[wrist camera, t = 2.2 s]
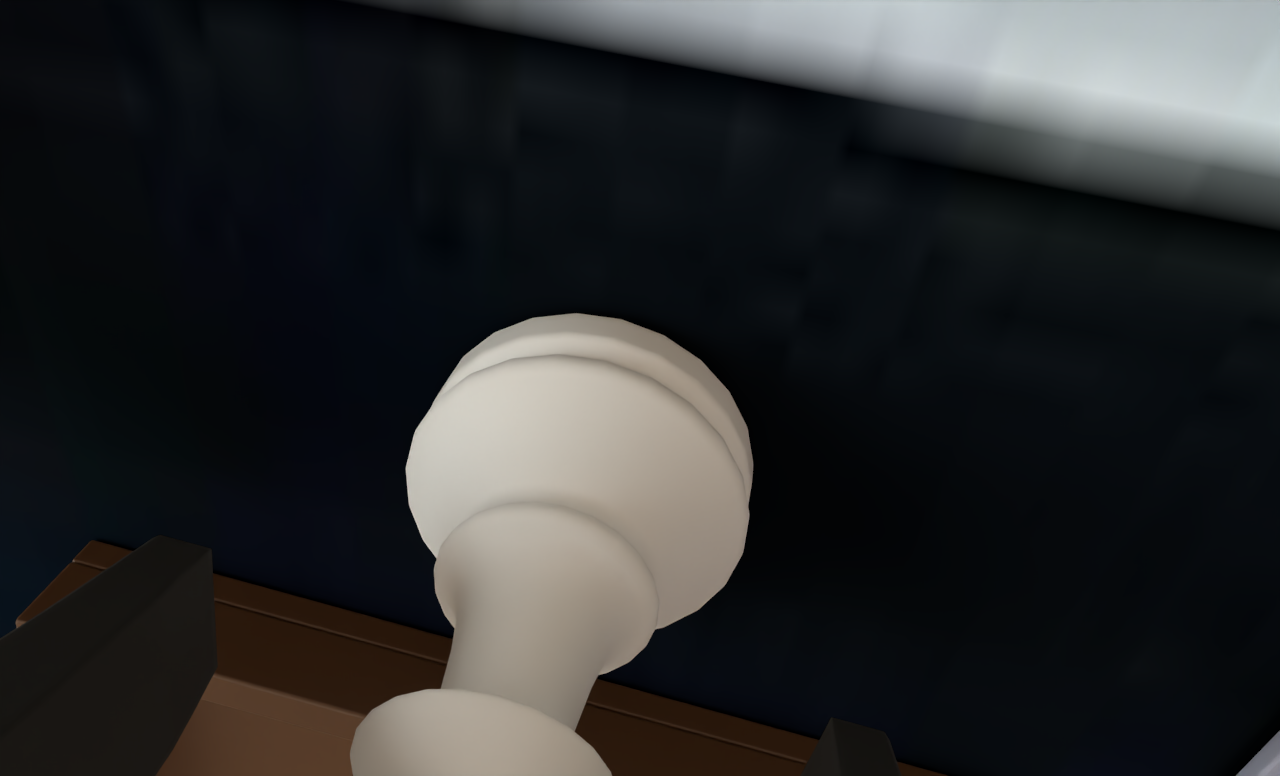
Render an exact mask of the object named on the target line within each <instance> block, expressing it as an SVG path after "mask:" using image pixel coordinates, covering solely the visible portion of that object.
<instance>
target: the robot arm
mask: <svg viewBox="0 0 1280 776" xmlns="http://www.w3.org/2000/svg"><path fill="white" fill-rule="evenodd" d="M217 667H218V662H217V643H216V624H215V604H214V585H213V566H212V549H210V548H207V547H203V546H199V545H196V544H192V543H188V542H185V541H181V540H177V539H173V538H170V537H166V536H162V535H158V536H156V537H155V538H153V539H151V540H149V541H148V542H146V543H145V544H143V545H142V546H140V547H139V548H137V549H136V550H134V551H133V552H131V553H129V554H128V555H126V556H125V557H123V558H122V559H121V560H119V561H118V562H116V563H115V564H113V565H112V566H110V567H109V568H107V569H106V570H104V571H103V572H101V573H100V574H98V575H97V576H95V577H94V578H92V579H91V580H89V581H88V582H86V583H85V584H83V585H82V586H80V587H79V588H77V589H76V590H74V591H73V592H71V593H70V594H68V595H67V596H65V597H64V598H62V599H61V600H59V601H58V602H56V603H55V604H53V605H51V606H50V607H48V608H47V609H45V610H44V611H42V612H41V613H39V614H38V615H36V616H35V617H33V618H32V619H30V620H29V621H27V622H26V623H24V624H22V625H21V626H19V627H18V628H16V629H14V630H13V631H11V632H10V633H8V634H7V635H5V636H3V637H2V638H0V776H156V774H157V773H158V771H159V770H160V768H161V767H162V765H163V764H164V762H165V761H166V759H167V758H168V757H169V755H170V754H171V752H172V751H173V749H174V747H175V745H176V743H177V742H178V740H179V738H180V736H181V734H182V733H183V731H184V729H185V727H186V725H187V724H188V722H189V720H190V718H191V716H192V715H193V713H194V711H195V709H196V707H197V705H198V703H199V701H200V699H201V697H202V696H203V694H204V692H205V690H206V688H207V686H208V684H209V682H210V680H211V678H212V676H213V675H214V673H215V671H216V669H217ZM800 776H902V775H901V772H900V769H899V766H898V763H897V761H896V758H895V755H894V752H893V749H892V746H891V743H890V740H889V739H888V737H887V735H886V734H885V732H884V731H880V730H877V729H873V728H869V727H865V726H862V725H858V724H854V723H851V722H847V721H843V720H840V719H836V718H832V717H831V719H830V721H829V723H828V725H827V727H826V728H825V730H824V732H823V734H822V736H821V738H820V740H819V742H818V744H817V745H816V747H815V749H814V751H813V753H812V755H811V757H810V759H809V760H808V762H807V764H806V766H805V768H804V770H803V772H802V774H801V775H800ZM1236 776H1280V731H1279V732H1278V733H1277V734H1276V735H1275V736H1274V737H1273V738H1272V739H1271V740H1270V741H1269V742H1268V743H1267V744H1266V745H1265V746H1264V747H1263V748H1262V749H1261V750H1260V751H1259V752H1258V753H1257V754H1256V755H1255V756H1254V757H1253V758H1252V759H1251V760H1250V762H1249V763H1248V764H1247V765H1246V766H1245V767H1244V768H1243V769H1242V770H1241V771H1240V772H1239V773H1238V774H1237V775H1236Z"/></svg>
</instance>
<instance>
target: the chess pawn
mask: <svg viewBox="0 0 1280 776" xmlns="http://www.w3.org/2000/svg"><path fill="white" fill-rule="evenodd" d="M752 477H753V458H752V452H751V446H750V440H749V434H748V428H747V426H746V424H745V422H744V420H743V418H742V416H741V414H740V412H739V410H738V408H737V406H736V404H735V402H734V400H733V398H732V396H731V394H730V392H729V391H728V389H727V388H726V387H725V386H724V385H723V384H722V383H721V382H720V381H719V380H718V378H717V377H716V376H715V375H714V374H713V373H712V372H711V371H710V370H709V368H708V367H707V366H706V365H705V364H704V363H703V362H702V361H701V360H700V359H699V358H697V357H696V356H694V355H693V354H691V353H690V352H688V351H687V350H685V349H684V348H682V347H681V346H679V345H678V344H676V343H675V342H673V341H672V340H670V339H669V338H667V337H666V336H664V335H662V334H659V333H657V332H654V331H651V330H649V329H646V328H644V327H641V326H638V325H636V324H633V323H630V322H628V321H625V320H622V319H617V318H609V317H602V316H594V315H587V314H579V313H573V314H563V315H554V316H544V317H535V318H531V319H528V320H526V321H523V322H520V323H518V324H515V325H512V326H510V327H507V328H505V329H502V330H499V331H497V332H494V333H493V334H492V335H490V336H489V337H488V338H486V339H485V340H484V341H482V342H481V343H480V344H479V345H477V346H476V347H475V348H473V349H472V350H471V351H470V352H468V353H467V354H466V355H464V356H463V358H462V359H461V360H460V362H459V363H458V365H457V366H456V368H455V369H454V371H453V372H452V374H451V375H450V377H449V378H448V380H447V381H446V383H445V384H444V386H443V387H442V389H441V390H440V392H439V394H438V395H437V397H436V399H435V400H434V402H433V404H432V407H431V408H430V410H429V411H428V413H427V414H426V416H425V417H424V418H423V420H422V421H421V423H420V424H419V426H418V427H417V429H416V430H415V432H414V436H413V440H412V444H411V448H410V452H409V456H408V460H407V464H406V478H407V490H408V501H409V507H410V509H411V512H412V514H413V517H414V519H415V522H416V524H417V527H418V529H419V532H420V534H421V536H422V539H423V541H424V542H425V544H426V545H427V546H428V548H429V549H430V550H431V552H432V553H433V554H434V556H435V557H436V558H437V560H436V563H435V566H434V580H435V593H436V595H437V598H438V600H439V603H440V605H441V608H442V610H443V612H444V615H445V616H446V618H447V619H448V620H449V622H450V623H451V624H452V626H453V627H454V628H455V630H454V636H453V642H452V648H451V652H450V656H449V660H448V663H447V667H446V671H445V674H444V678H443V682H442V686H441V689H426V690H421V691H417V692H413V693H408V694H404V695H400V696H396V697H394V698H392V699H390V700H389V701H387V702H385V703H383V704H381V705H379V706H378V707H376V708H374V709H372V710H371V711H370V713H369V714H368V715H367V716H366V717H365V719H364V720H363V721H362V722H361V723H360V725H359V726H358V727H357V728H356V731H355V735H354V739H353V742H352V746H351V750H350V760H351V766H352V773H353V776H612V774H611V771H610V770H609V769H608V767H607V766H606V764H605V763H604V762H603V760H602V759H601V757H600V756H599V755H598V753H597V752H596V751H595V749H594V748H593V747H592V746H591V745H590V744H588V743H587V742H586V741H585V740H584V739H583V738H581V737H580V736H579V735H578V734H577V733H575V729H576V727H577V724H578V722H579V719H580V716H581V714H582V711H583V709H584V706H585V704H586V701H587V698H588V696H589V693H590V691H591V688H592V686H593V684H594V682H595V680H596V679H597V677H598V675H601V674H605V673H608V672H610V671H612V670H614V669H616V668H618V667H620V666H622V665H624V664H626V663H628V662H630V661H631V660H632V659H633V658H634V657H635V656H636V655H637V654H638V653H639V652H640V651H642V650H643V649H644V648H645V647H646V646H647V644H648V642H649V640H650V638H651V636H652V634H653V632H654V630H655V629H658V628H663V627H665V626H667V625H669V624H671V623H673V622H675V621H677V620H679V619H681V618H683V617H685V616H687V615H689V614H691V613H693V612H695V611H697V610H699V609H700V608H701V607H702V606H703V605H704V604H705V603H706V602H707V601H708V600H709V599H711V598H712V597H713V596H714V595H715V594H716V593H717V592H718V591H719V590H720V589H722V588H723V587H724V586H725V584H726V583H727V581H728V579H729V577H730V576H731V574H732V572H733V570H734V569H735V567H736V565H737V563H738V561H739V560H740V558H741V556H742V554H743V552H744V546H745V540H746V534H747V528H748V522H749V516H750V515H749V509H748V504H749V498H750V492H751V486H752Z"/></svg>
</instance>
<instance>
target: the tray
mask: <svg viewBox="0 0 1280 776" xmlns="http://www.w3.org/2000/svg"><path fill="white" fill-rule="evenodd" d="M131 552H133V551H131V550H128V549H124V548H121V547H117V546H113V545H110V544H106V543H102V542H99V541H95V540H92V541H90V542H89V543H88V544H87V545H86V546H85V547H84V549H83V550H82V551H81V552H80V553H79V554H78V555H77V556H76V557H75V558H74V559H73V563H70V564H69V565H68V566H67V567H66V568H65V569H64V570H63V571H62V572H61V573H60V574H59V575H58V576H57V577H56V578H55V579H54V580H53V581H52V582H51V583H50V584H49V586H48V587H47V588H46V589H45V590H44V591H43V592H42V593H41V594H40V595H39V596H38V597H37V598H36V599H35V600H34V601H33V602H32V603H31V604H30V605H29V606H28V608H27V609H26V610H25V611H24V612H23V613H22V614H21V615H20V616H19V617H18V618H17V620H16V627H17V628H18V627H19V626H21V625H22V624H24V623H26V622H27V621H29V620H30V619H32V618H33V617H35V616H36V615H38V614H39V613H41V612H42V611H44V610H45V609H47V608H48V607H50V606H51V605H53V604H55V603H56V602H58V601H59V600H61V599H62V598H64V597H65V596H67V595H68V594H70V593H71V592H73V591H74V590H76V589H77V588H79V587H80V586H82V585H83V584H85V583H86V582H88V581H89V580H91V579H92V578H94V577H95V576H97V575H98V574H100V573H101V572H103V571H104V570H106V569H107V568H109V567H110V566H112V565H113V564H115V563H116V562H118V561H119V560H121V559H122V558H123V557H125V556H126V555H128V554H129V553H131ZM213 585H214V604H215V624H216V643H217V662H218V667H217V669H216V671H215V673H214V675H213V676H212V678H211V680H210V682H209V684H208V686H207V688H206V690H205V692H204V694H203V696H202V697H201V699H200V701H199V703H198V705H197V707H196V709H195V711H194V713H193V715H192V716H191V718H190V720H189V722H188V724H187V725H186V727H185V729H184V731H183V733H182V734H181V736H180V738H179V740H178V742H177V743H176V745H175V747H174V749H173V751H172V752H171V754H170V755H169V757H168V758H167V759H166V761H165V762H164V764H163V765H162V767H161V768H160V770H159V771H158V773H157V774H156V776H353V773H352V766H351V760H350V750H351V746H352V742H353V739H354V735H355V731H356V728H357V727H358V726H359V725H360V723H361V722H362V721H363V720H364V719H365V717H366V716H367V715H368V714H369V713H370V711H371V710H372V709H374V708H376V707H378V706H379V705H381V704H383V703H385V702H387V701H389V700H390V699H392V698H394V697H396V696H400V695H404V694H408V693H413V692H417V691H421V690H426V689H441V686H442V682H443V678H444V674H445V671H446V667H447V663H448V660H449V656H450V652H451V648H452V642H453V639H451V638H447V637H444V636H440V635H436V634H433V633H429V632H426V631H422V630H418V629H415V628H411V627H407V626H404V625H400V624H396V623H393V622H389V621H386V620H382V619H378V618H375V617H371V616H367V615H364V614H360V613H357V612H353V611H349V610H346V609H342V608H338V607H335V606H331V605H327V604H324V603H320V602H317V601H313V600H309V599H306V598H302V597H298V596H295V595H291V594H288V593H284V592H280V591H277V590H273V589H269V588H266V587H262V586H258V585H255V584H251V583H248V582H244V581H240V580H237V579H233V578H229V577H226V576H222V575H219V574H215V573H213ZM575 733H577V734H578V735H579V736H580V737H581V738H583V739H584V740H585V741H586V742H587V743H588V744H590V745H591V746H592V747H593V748H594V749H595V751H596V752H597V753H598V755H599V756H600V757H601V759H602V760H603V762H604V763H605V764H606V766H607V767H608V769H609V770H610V771H611V774H612V776H800V775H801V774H802V772H803V770H804V768H805V766H806V764H807V762H808V760H809V759H810V757H811V755H812V753H813V751H814V749H815V747H816V745H817V744H818V742H819V740H818V739H814V738H810V737H807V736H803V735H799V734H796V733H792V732H789V731H785V730H781V729H778V728H774V727H770V726H767V725H763V724H760V723H756V722H752V721H749V720H745V719H741V718H738V717H734V716H730V715H727V714H723V713H720V712H716V711H712V710H709V709H705V708H701V707H698V706H694V705H691V704H687V703H683V702H680V701H676V700H672V699H669V698H665V697H661V696H658V695H654V694H651V693H647V692H643V691H640V690H636V689H632V688H629V687H625V686H622V685H618V684H614V683H611V682H607V681H603V680H600V679H596V680H595V682H594V684H593V686H592V688H591V691H590V693H589V696H588V698H587V701H586V704H585V706H584V709H583V711H582V714H581V716H580V719H579V722H578V724H577V727H576V729H575ZM897 763H898V766H899V769H900V772H901V775H902V776H948V775H945V774H941V773H937V772H934V771H930V770H927V769H923V768H919V767H916V766H912V765H908V764H905V763H901V762H897Z"/></svg>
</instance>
